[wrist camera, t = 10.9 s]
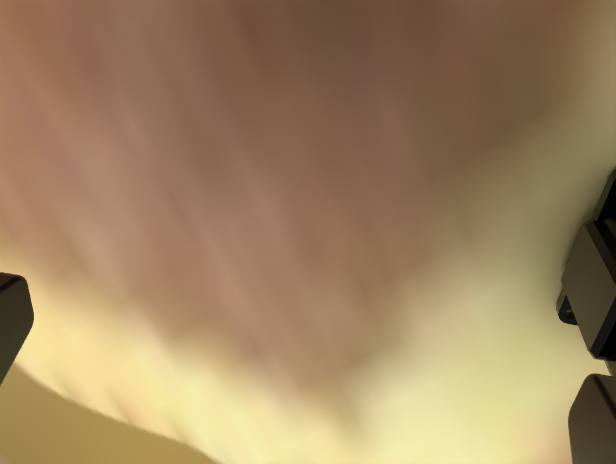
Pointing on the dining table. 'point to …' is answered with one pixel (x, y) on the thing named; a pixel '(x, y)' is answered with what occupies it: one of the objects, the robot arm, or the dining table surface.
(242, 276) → the dining table surface
